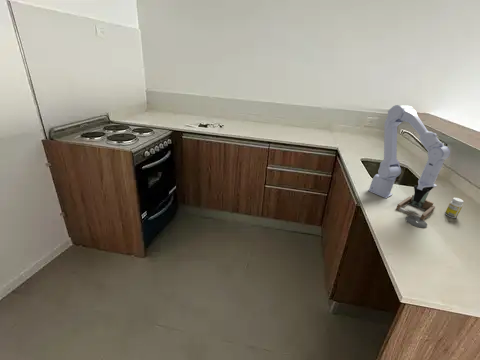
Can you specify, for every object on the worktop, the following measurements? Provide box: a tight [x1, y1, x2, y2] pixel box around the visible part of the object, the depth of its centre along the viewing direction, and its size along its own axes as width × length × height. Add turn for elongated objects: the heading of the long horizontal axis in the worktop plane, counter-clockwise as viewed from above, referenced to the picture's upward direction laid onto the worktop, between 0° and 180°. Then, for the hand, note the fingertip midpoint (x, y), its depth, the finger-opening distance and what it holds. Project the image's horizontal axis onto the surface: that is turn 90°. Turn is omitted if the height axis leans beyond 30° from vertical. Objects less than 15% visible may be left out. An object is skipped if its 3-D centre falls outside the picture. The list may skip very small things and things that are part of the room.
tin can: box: [410, 188, 431, 208], centre depth 125 cm, size 5×5×8 cm
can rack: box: [395, 194, 436, 221], centre depth 128 cm, size 11×15×4 cm
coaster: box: [405, 215, 428, 229], centre depth 118 cm, size 8×8×1 cm
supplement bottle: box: [444, 197, 464, 219], centre depth 126 cm, size 5×5×8 cm
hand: (418, 200), depth 126 cm, fingers closed on tin can, 5 cm apart
